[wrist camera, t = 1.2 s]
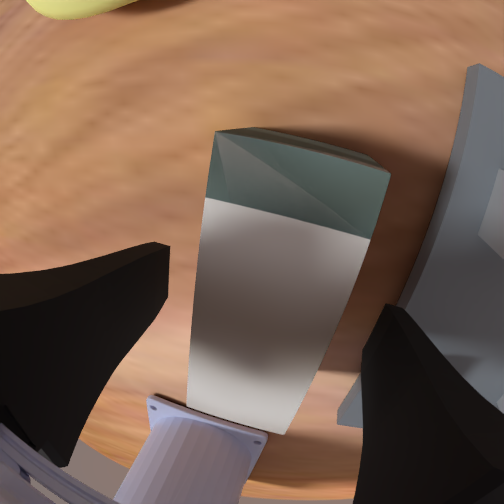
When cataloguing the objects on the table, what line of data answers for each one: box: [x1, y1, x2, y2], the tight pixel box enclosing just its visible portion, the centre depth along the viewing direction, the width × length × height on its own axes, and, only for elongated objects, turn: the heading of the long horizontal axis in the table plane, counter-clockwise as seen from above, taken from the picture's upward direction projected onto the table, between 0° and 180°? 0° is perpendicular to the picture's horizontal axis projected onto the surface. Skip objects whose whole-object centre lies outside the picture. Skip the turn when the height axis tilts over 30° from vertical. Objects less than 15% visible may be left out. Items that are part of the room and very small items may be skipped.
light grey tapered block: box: [187, 127, 391, 435], centre depth 10 cm, size 10×4×4 cm, turn 170°
